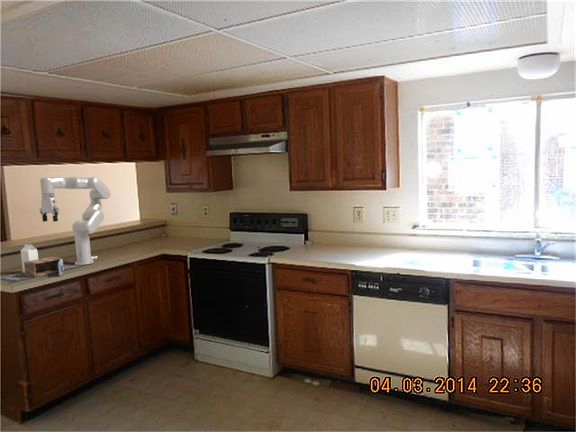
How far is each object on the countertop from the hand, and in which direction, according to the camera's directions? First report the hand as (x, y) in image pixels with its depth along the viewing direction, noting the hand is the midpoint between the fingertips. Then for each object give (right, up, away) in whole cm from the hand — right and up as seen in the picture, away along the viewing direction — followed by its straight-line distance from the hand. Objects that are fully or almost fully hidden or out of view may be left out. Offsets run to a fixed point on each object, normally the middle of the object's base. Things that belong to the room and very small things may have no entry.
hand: (50, 221), depth 300 cm
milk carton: (-15, -35, +3) cm, 38 cm away
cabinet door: (+12, -34, -8) cm, 37 cm away
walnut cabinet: (-2, -35, -4) cm, 35 cm away
